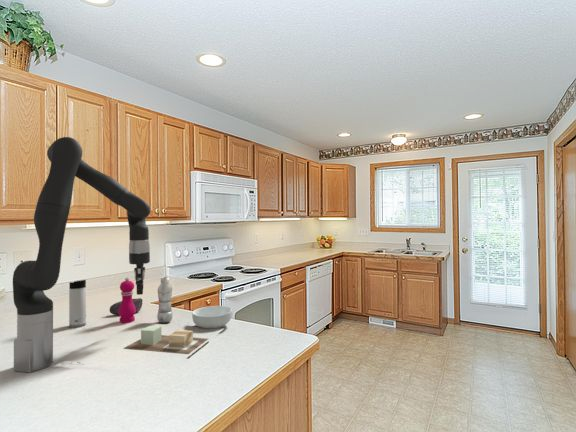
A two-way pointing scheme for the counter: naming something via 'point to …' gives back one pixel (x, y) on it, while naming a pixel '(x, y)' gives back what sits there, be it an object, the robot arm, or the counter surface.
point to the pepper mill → (127, 302)
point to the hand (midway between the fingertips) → (140, 291)
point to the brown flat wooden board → (164, 346)
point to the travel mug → (77, 304)
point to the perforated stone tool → (115, 307)
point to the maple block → (180, 338)
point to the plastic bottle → (164, 301)
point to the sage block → (151, 335)
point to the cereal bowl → (212, 316)
